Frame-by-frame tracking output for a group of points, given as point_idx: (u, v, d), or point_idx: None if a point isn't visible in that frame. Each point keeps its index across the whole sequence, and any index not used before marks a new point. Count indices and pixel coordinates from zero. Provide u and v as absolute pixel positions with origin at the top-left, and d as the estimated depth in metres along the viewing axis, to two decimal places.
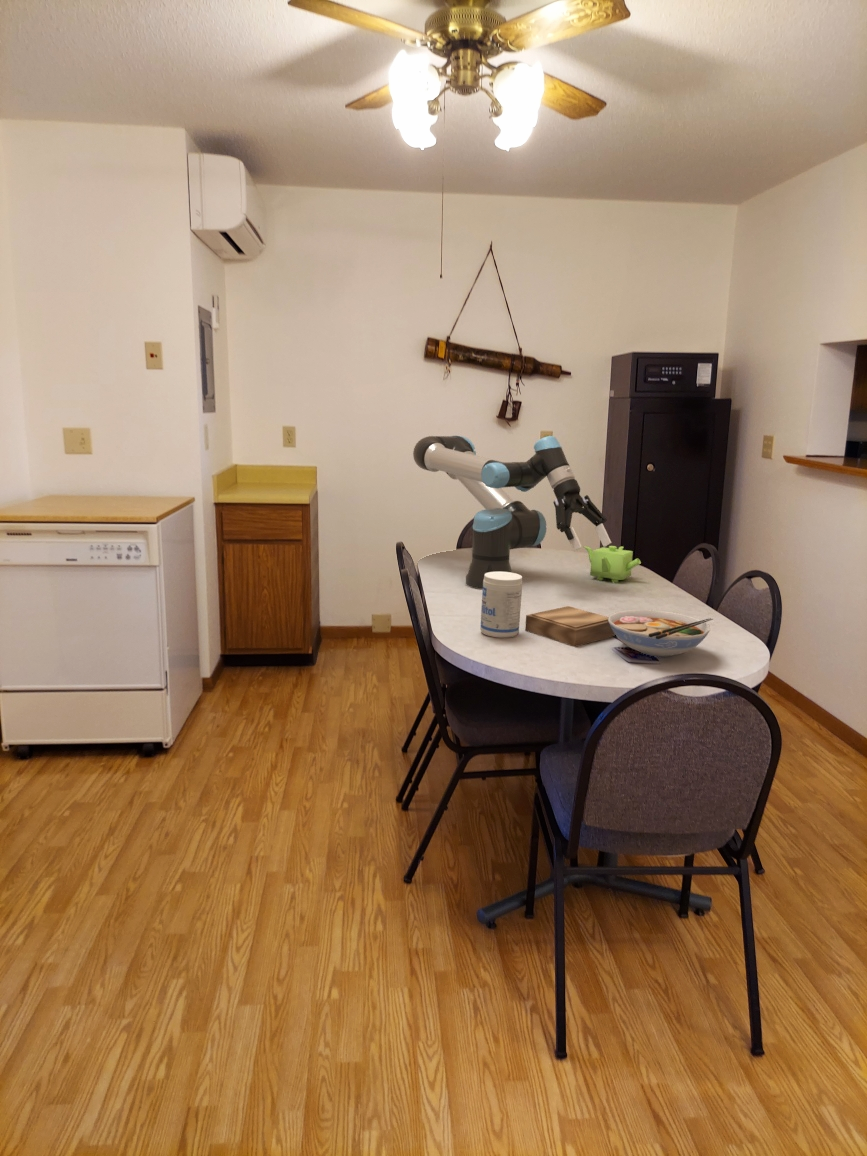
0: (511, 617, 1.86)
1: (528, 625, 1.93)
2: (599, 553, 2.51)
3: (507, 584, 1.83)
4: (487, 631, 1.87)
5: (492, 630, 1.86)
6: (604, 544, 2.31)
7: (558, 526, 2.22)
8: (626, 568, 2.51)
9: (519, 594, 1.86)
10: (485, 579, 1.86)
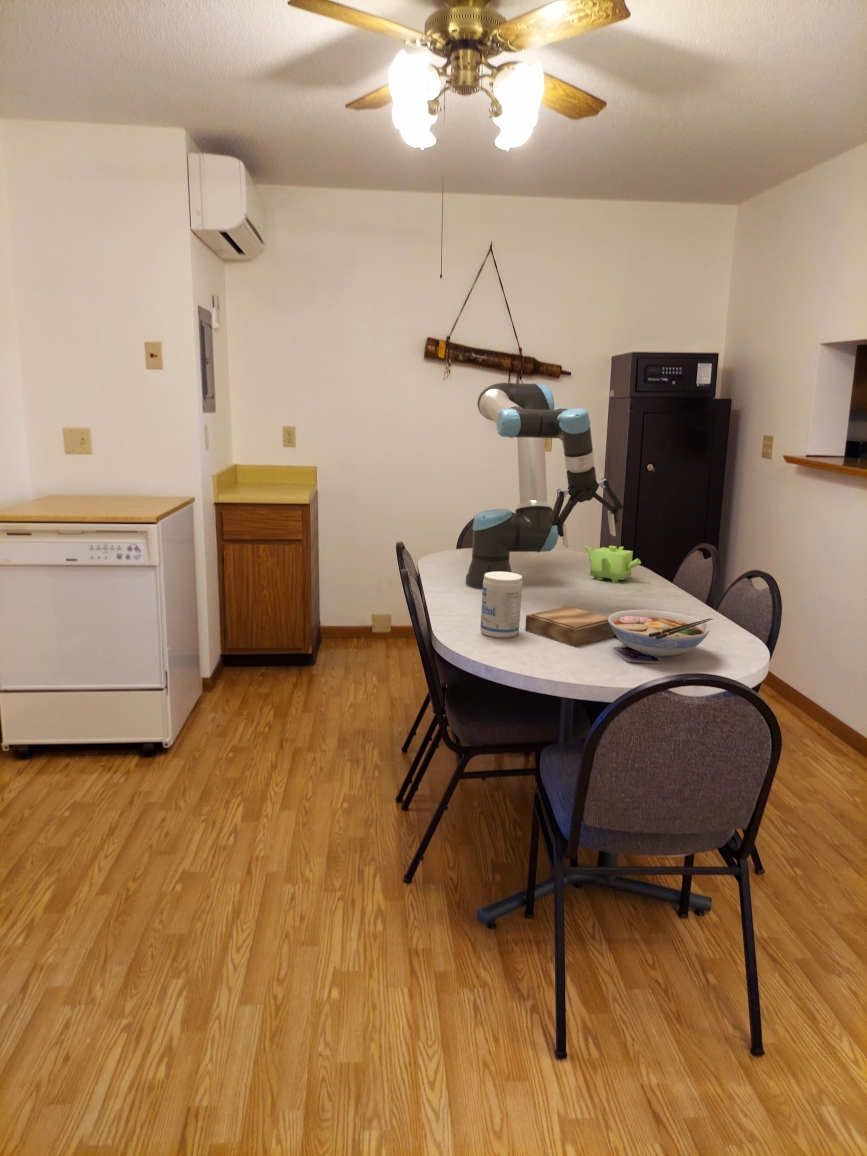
0: (511, 617, 1.86)
1: (528, 625, 1.93)
2: (599, 553, 2.51)
3: (507, 584, 1.83)
4: (487, 631, 1.87)
5: (492, 630, 1.86)
6: (610, 532, 2.15)
7: (550, 521, 2.11)
8: (626, 568, 2.51)
9: (519, 594, 1.86)
10: (485, 579, 1.86)
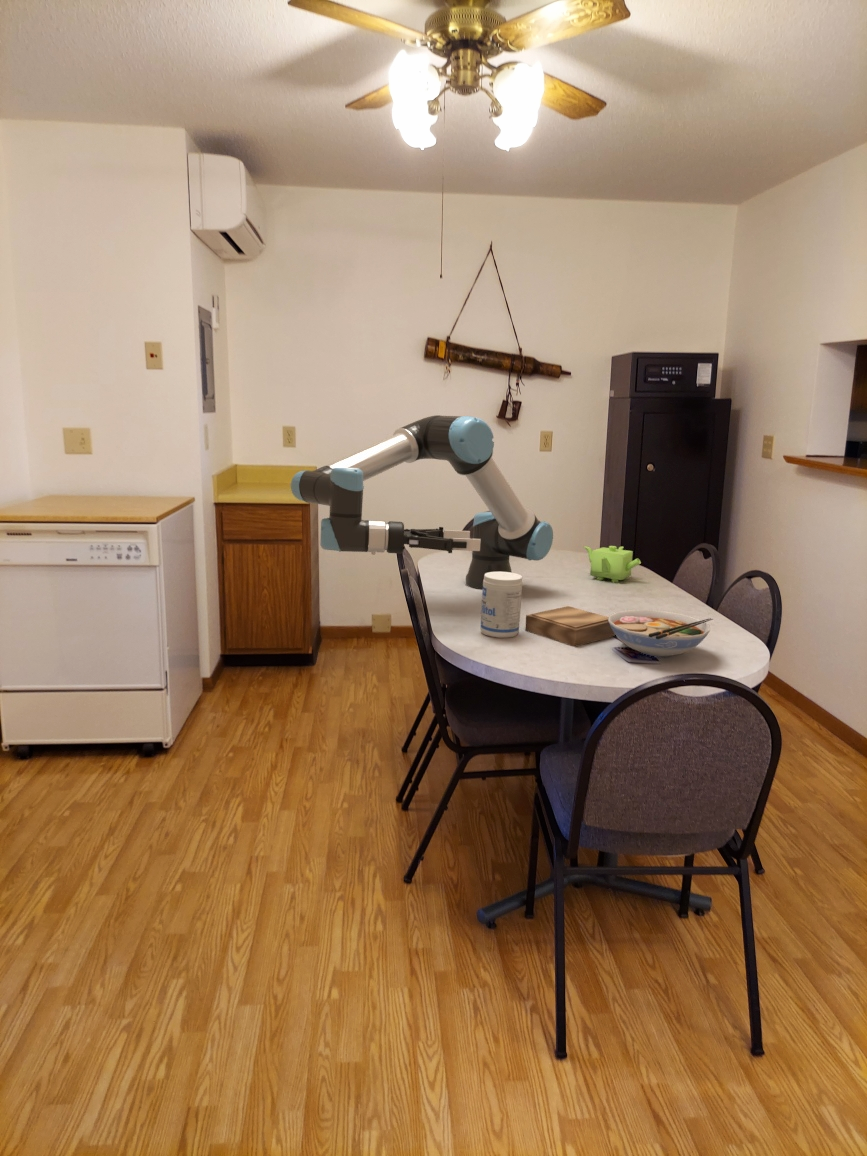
0: (511, 617, 1.86)
1: (528, 625, 1.93)
2: (599, 553, 2.51)
3: (507, 584, 1.83)
4: (487, 631, 1.87)
5: (492, 630, 1.86)
6: None
7: None
8: (626, 568, 2.51)
9: (519, 594, 1.86)
10: (485, 579, 1.86)
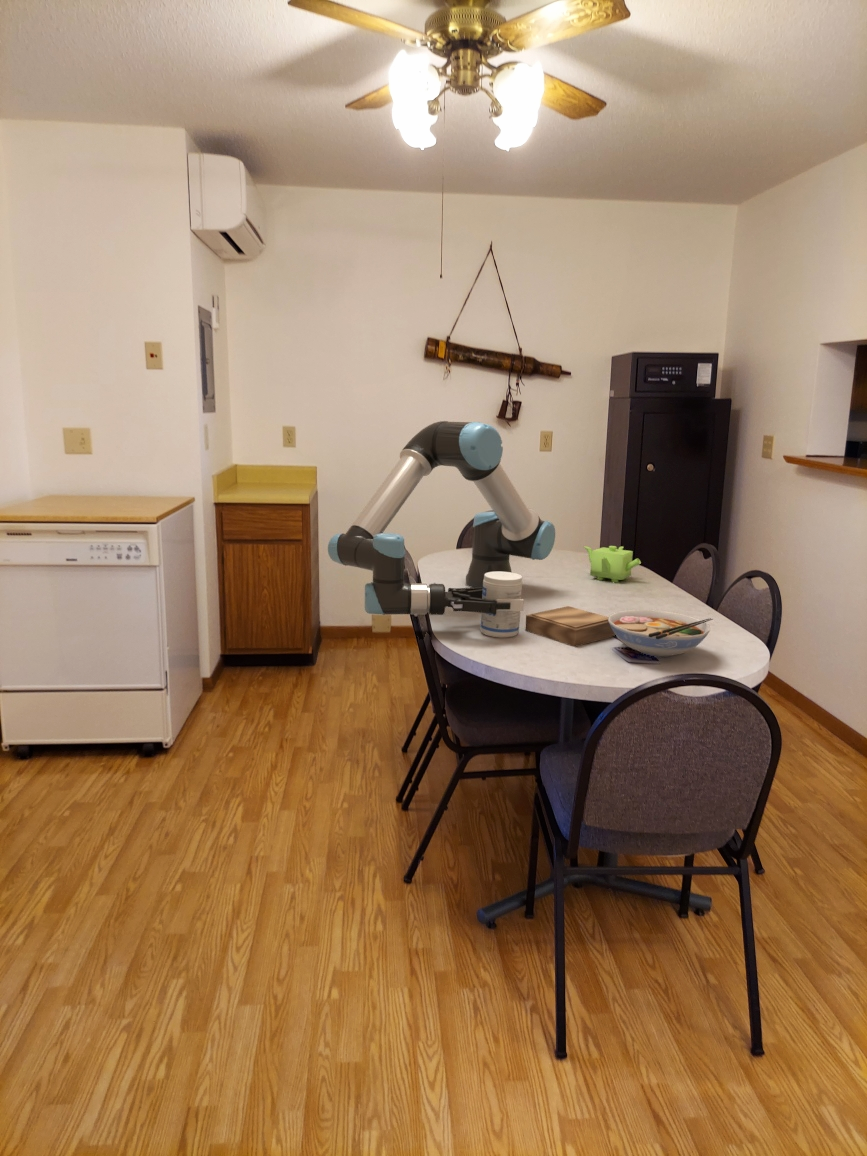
0: (511, 617, 1.86)
1: (528, 625, 1.93)
2: (599, 553, 2.51)
3: (507, 584, 1.83)
4: (487, 631, 1.87)
5: (492, 630, 1.86)
6: None
7: None
8: (626, 568, 2.51)
9: (519, 594, 1.86)
10: (485, 579, 1.86)
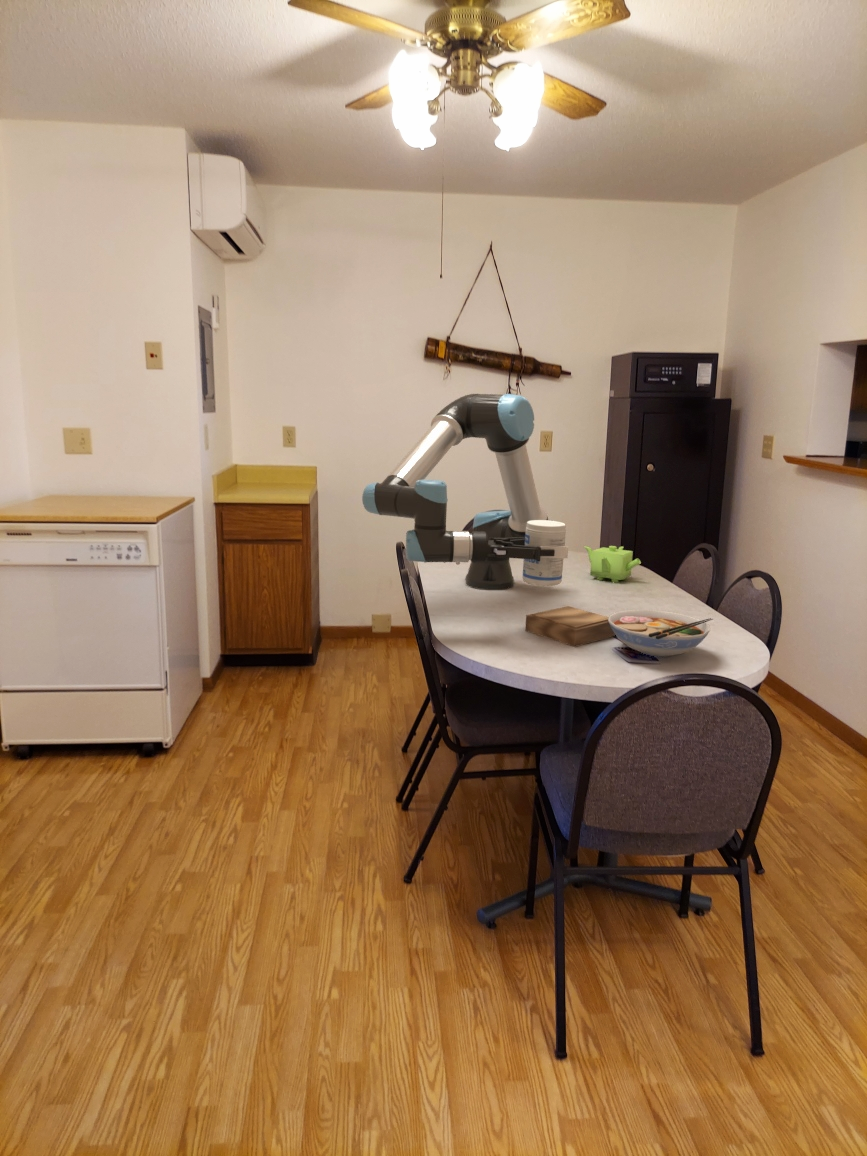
0: (554, 565, 1.83)
1: (528, 625, 1.93)
2: (599, 553, 2.51)
3: (551, 530, 1.81)
4: (530, 580, 1.84)
5: (535, 578, 1.84)
6: None
7: None
8: (626, 568, 2.51)
9: (563, 541, 1.83)
10: (528, 526, 1.84)
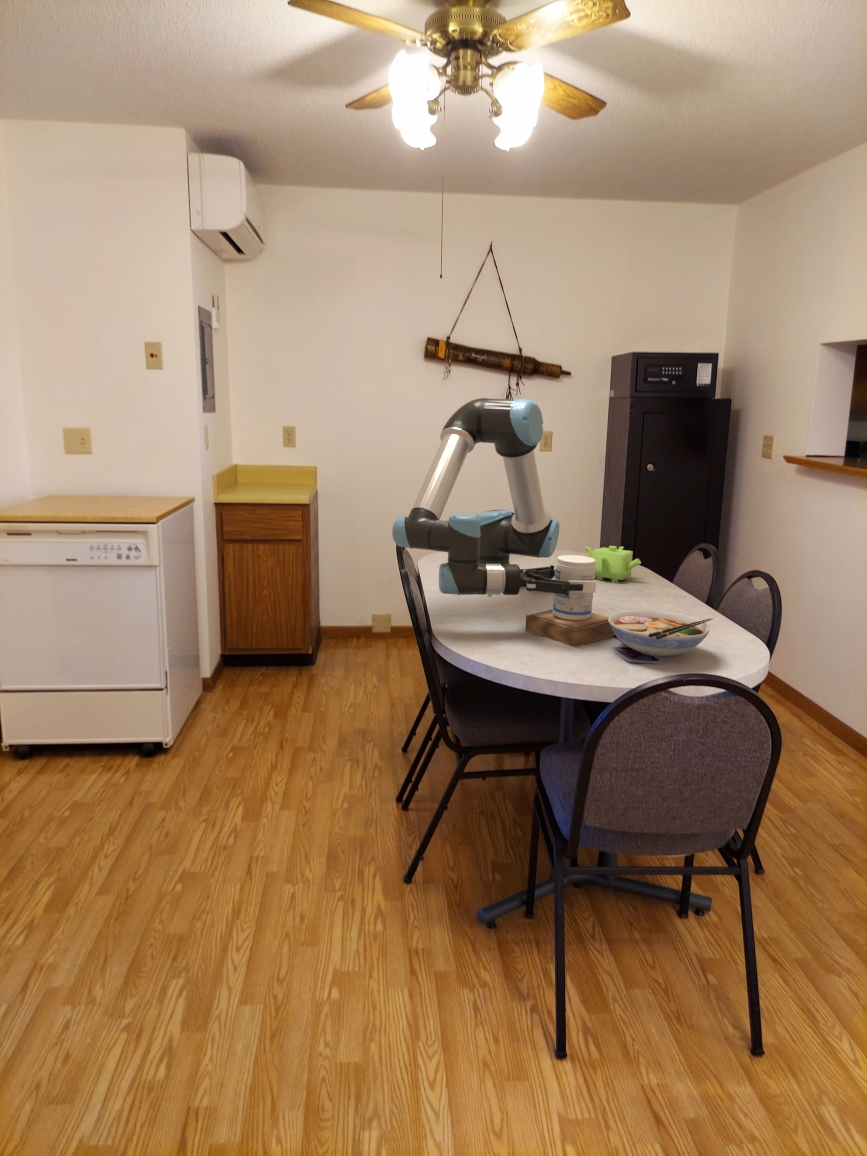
0: (585, 600, 1.87)
1: (528, 625, 1.93)
2: (599, 553, 2.51)
3: (582, 566, 1.84)
4: (561, 614, 1.88)
5: (566, 612, 1.87)
6: None
7: None
8: (626, 568, 2.51)
9: (593, 577, 1.87)
10: (559, 562, 1.87)
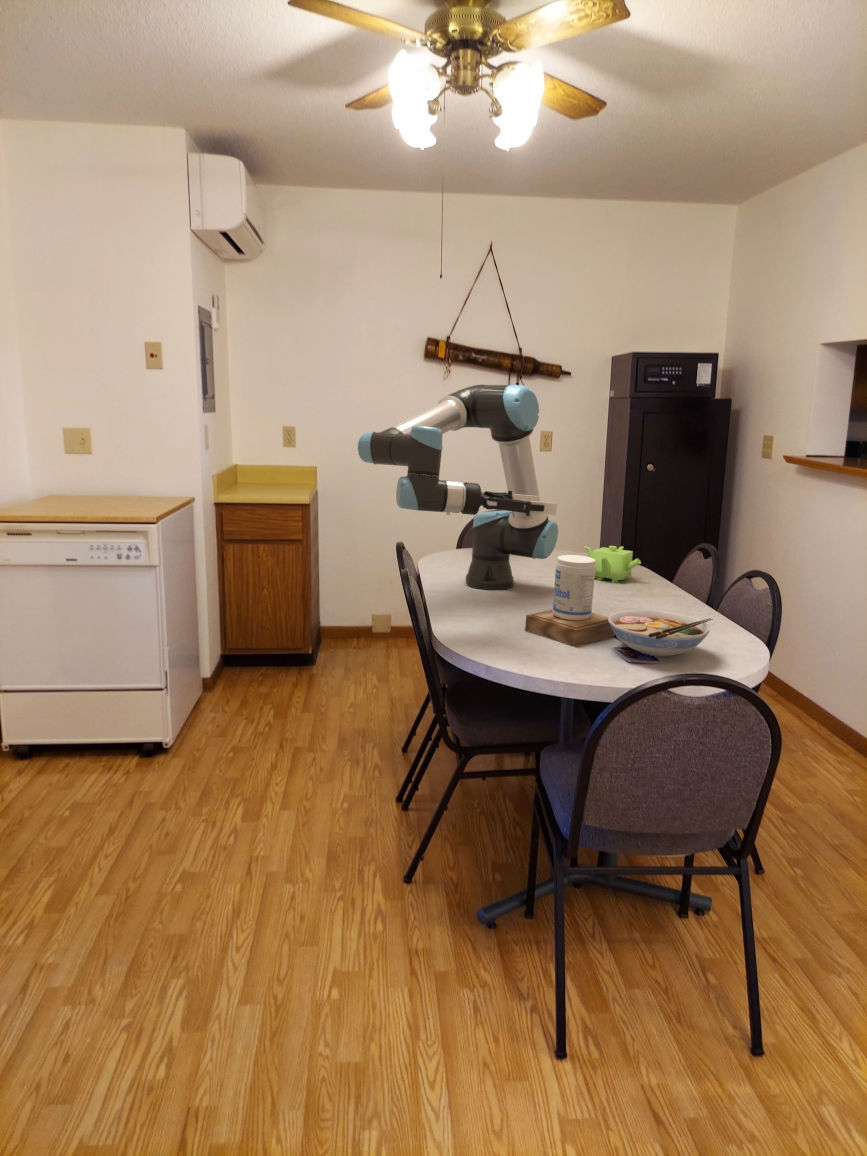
0: (585, 600, 1.87)
1: (528, 625, 1.93)
2: (599, 553, 2.51)
3: (582, 566, 1.84)
4: (561, 614, 1.88)
5: (566, 612, 1.87)
6: None
7: None
8: (626, 568, 2.51)
9: (593, 577, 1.87)
10: (559, 562, 1.87)
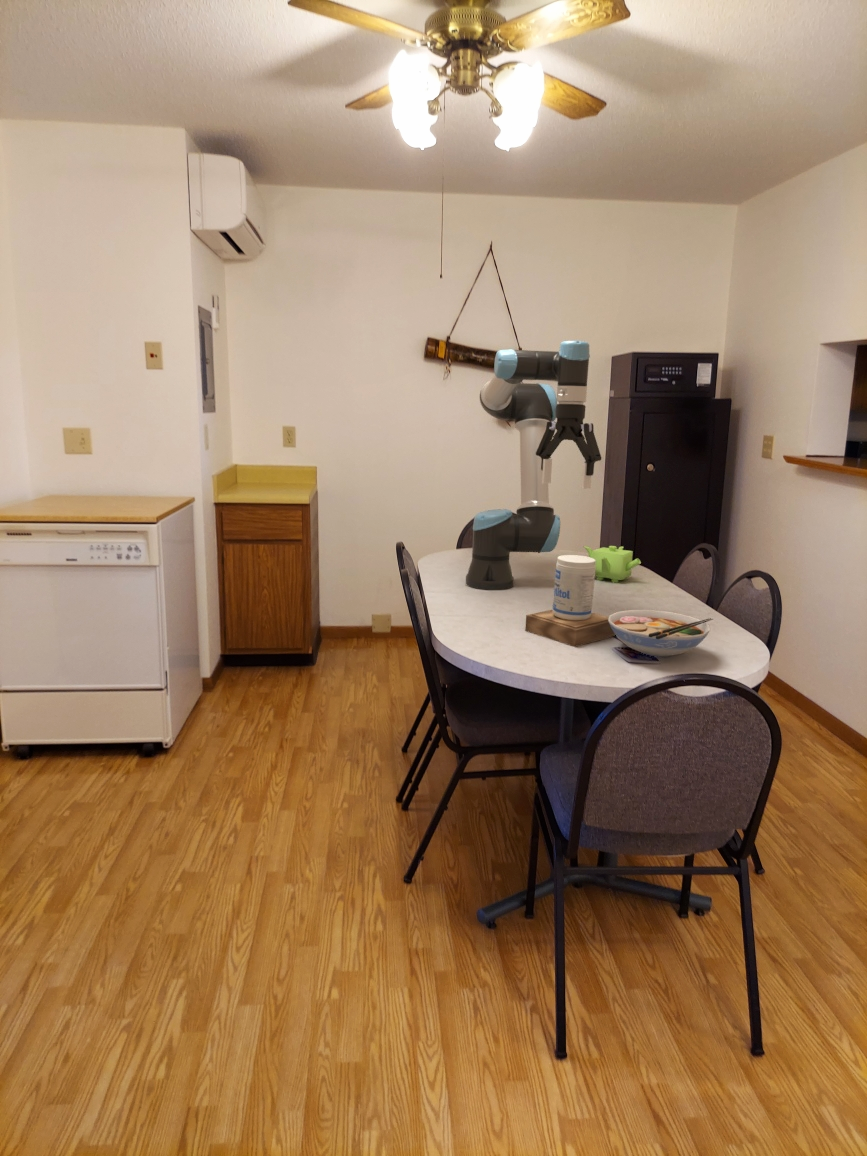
0: (585, 600, 1.87)
1: (528, 625, 1.93)
2: (599, 553, 2.51)
3: (582, 566, 1.84)
4: (561, 614, 1.88)
5: (566, 612, 1.87)
6: None
7: None
8: (626, 568, 2.51)
9: (593, 577, 1.87)
10: (559, 562, 1.87)
